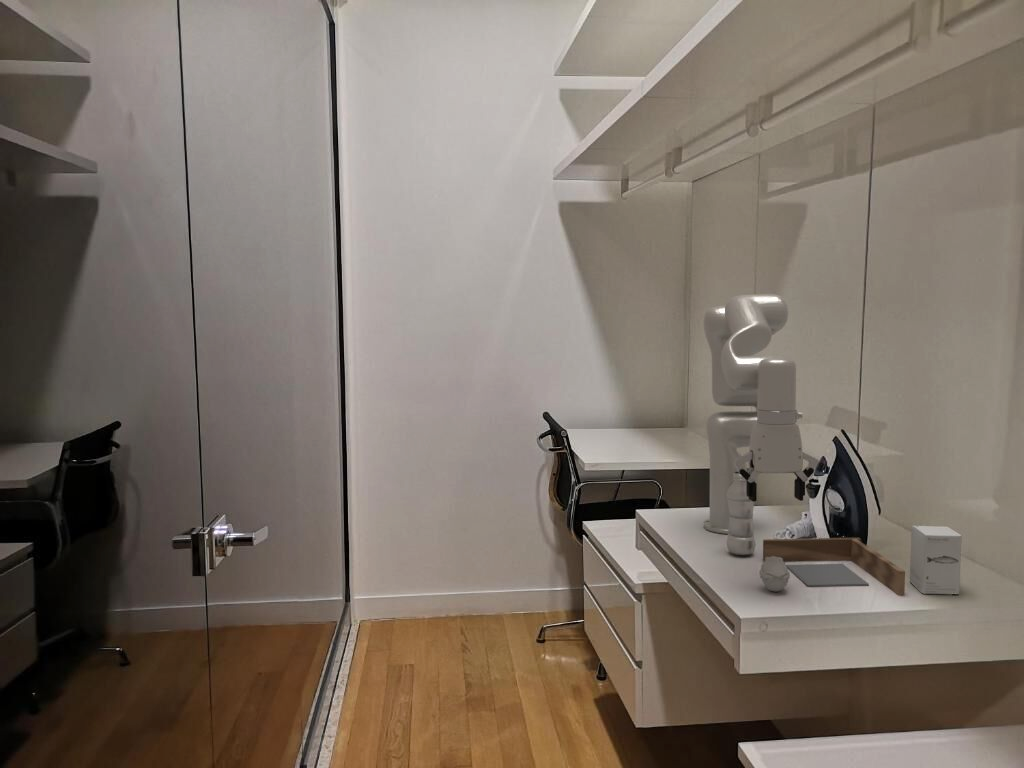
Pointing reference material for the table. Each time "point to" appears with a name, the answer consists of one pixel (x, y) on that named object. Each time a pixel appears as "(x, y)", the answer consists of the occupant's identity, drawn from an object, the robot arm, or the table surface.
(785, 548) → the corner walls
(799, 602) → the table surface
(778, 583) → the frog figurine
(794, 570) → the slate mat
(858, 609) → the table surface
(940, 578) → the supplement box
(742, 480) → the plastic bottle
